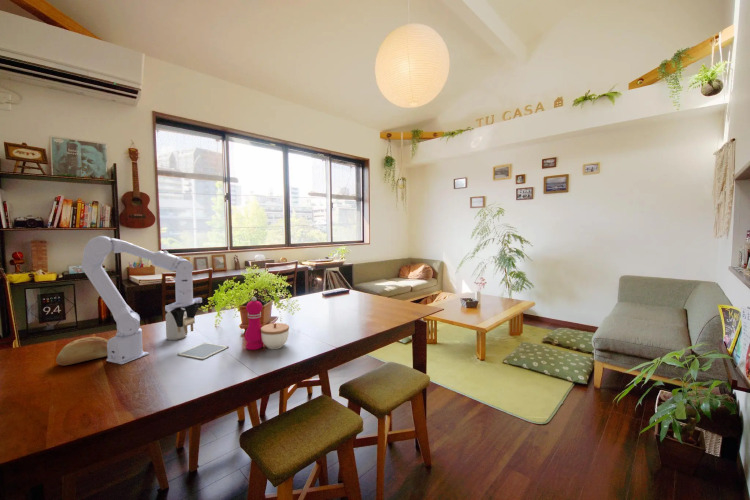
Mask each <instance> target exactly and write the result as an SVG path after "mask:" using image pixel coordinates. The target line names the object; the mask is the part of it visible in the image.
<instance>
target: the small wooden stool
mask: <svg viewBox="0 0 750 500" xmlns="http://www.w3.org/2000/svg"><path fill="white" fill-rule="evenodd" d="M195 323H196V321H195V317H194V318H190V317H183V326H184V330H185V334H187V335H188V331H189V330H188V326H190V332H194V325H195ZM176 325H177V324H176ZM178 332H180V327H178Z"/></svg>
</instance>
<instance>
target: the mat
mask: <svg viewBox="0 0 750 500" xmlns="http://www.w3.org/2000/svg"><path fill="white" fill-rule="evenodd" d="M227 349H229V345H228V346H226V345H222V344H221V345H220V344H215V343H210V342H202V343H200V344H198V345H195V346H192V347H191V348H188V349H186V350H184V351H181V352H179V353H177V356H180V357H186V358H190V359H196V360H200V361H205V360H206V359H208V358H210V357H213V356H214V355H216V354H218V353H220V352H223V351H225V350H227Z"/></svg>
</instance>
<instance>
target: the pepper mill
mask: <svg viewBox="0 0 750 500" xmlns="http://www.w3.org/2000/svg"><path fill="white" fill-rule="evenodd" d="M245 310H246V312H247V318H248V325H247V327H246V329H245V332H244V333H245V334H244V340H245V341H246V343H245V348H246V350H249V351H255V350H259V349H262V348H263V347H264V343H263V342H262V338H261V327H262V324H261V317H262V313H261V312H262V311H263V304H262V302H261V301H258V300H257V297H256V296H253V297H252V298H251V301H249V302H248V303H246V306H245Z"/></svg>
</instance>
